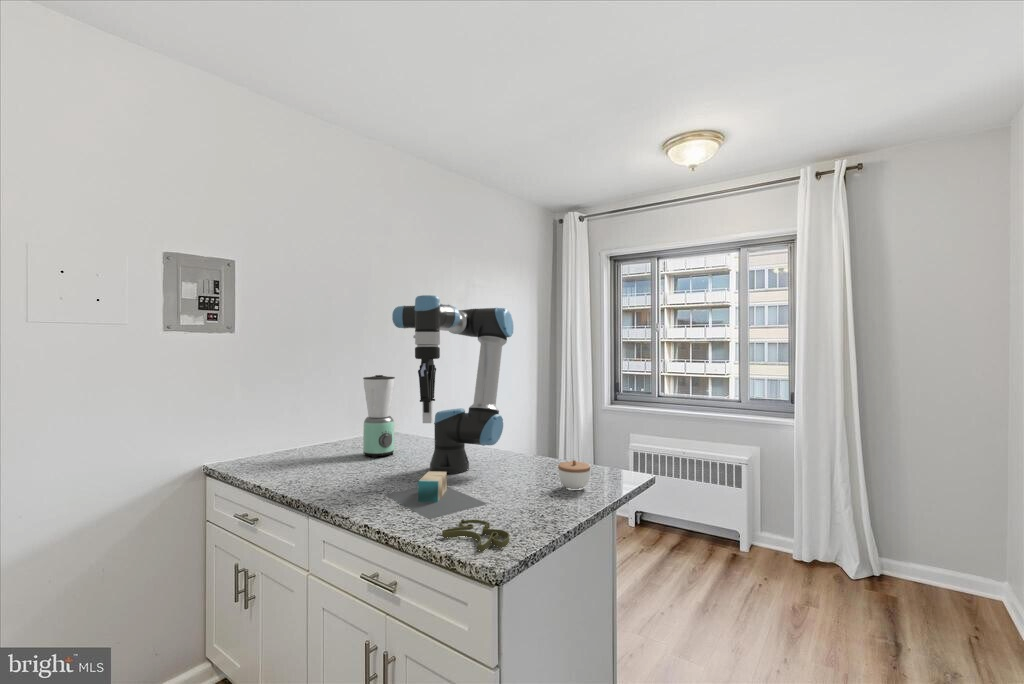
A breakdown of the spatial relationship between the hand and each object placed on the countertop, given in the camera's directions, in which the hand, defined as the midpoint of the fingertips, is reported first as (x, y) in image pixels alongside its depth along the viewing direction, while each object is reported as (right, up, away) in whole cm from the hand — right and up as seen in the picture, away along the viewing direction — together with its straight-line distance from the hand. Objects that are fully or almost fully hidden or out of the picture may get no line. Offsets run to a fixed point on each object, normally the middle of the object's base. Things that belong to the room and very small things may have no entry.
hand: (427, 422), depth 148 cm
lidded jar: (+47, -25, +15) cm, 55 cm away
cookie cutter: (+17, -25, -27) cm, 41 cm away
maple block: (+1, -20, -3) cm, 20 cm away
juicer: (-33, -25, +64) cm, 76 cm away
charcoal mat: (+2, -24, 0) cm, 24 cm away
